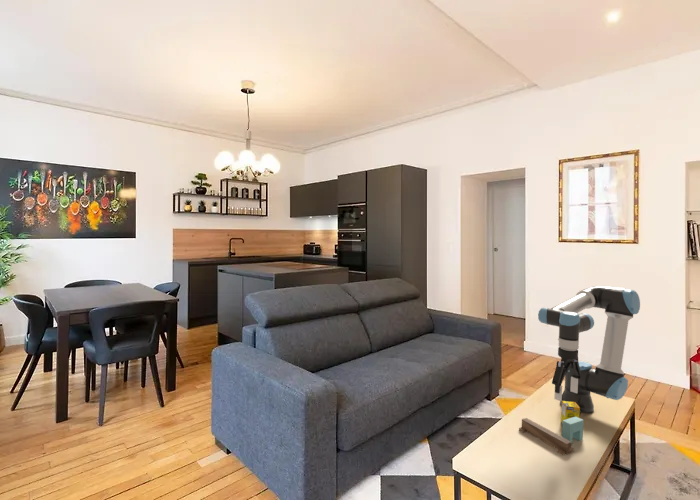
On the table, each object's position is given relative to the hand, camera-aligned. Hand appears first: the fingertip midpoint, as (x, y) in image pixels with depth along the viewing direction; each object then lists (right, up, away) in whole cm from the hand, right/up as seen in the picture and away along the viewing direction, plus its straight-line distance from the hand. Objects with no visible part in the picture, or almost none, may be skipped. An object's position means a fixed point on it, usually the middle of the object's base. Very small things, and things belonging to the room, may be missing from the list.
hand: (566, 395), depth 166 cm
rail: (-9, -20, +1) cm, 22 cm away
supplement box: (+9, -20, +13) cm, 25 cm away
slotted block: (+3, -20, +1) cm, 20 cm away
